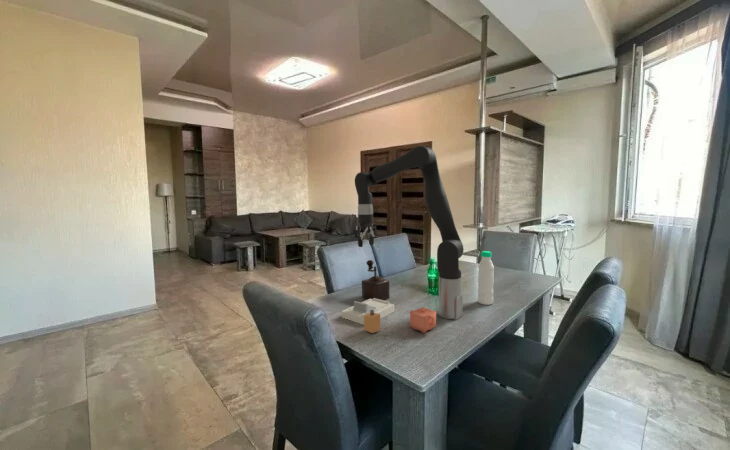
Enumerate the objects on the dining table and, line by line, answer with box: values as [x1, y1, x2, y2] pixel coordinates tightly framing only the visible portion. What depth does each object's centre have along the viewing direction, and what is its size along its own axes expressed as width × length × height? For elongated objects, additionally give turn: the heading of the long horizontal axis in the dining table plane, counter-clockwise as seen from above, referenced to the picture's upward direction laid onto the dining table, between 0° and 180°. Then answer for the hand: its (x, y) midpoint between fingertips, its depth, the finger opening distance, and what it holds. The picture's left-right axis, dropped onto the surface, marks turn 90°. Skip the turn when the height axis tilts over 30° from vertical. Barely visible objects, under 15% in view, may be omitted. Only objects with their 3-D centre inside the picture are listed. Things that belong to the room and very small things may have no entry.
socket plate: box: [341, 298, 396, 326], centre depth 143 cm, size 14×20×4 cm
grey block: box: [353, 300, 376, 314], centre depth 141 cm, size 7×7×4 cm
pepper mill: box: [361, 259, 390, 301], centre depth 166 cm, size 16×11×18 cm
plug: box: [363, 310, 381, 334], centre depth 126 cm, size 4×4×8 cm
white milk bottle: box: [477, 250, 495, 306], centre depth 155 cm, size 7×7×25 cm
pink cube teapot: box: [409, 306, 437, 334], centre depth 128 cm, size 8×12×8 cm, turn 42°
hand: (366, 245), depth 161 cm, fingers open, 8 cm apart
